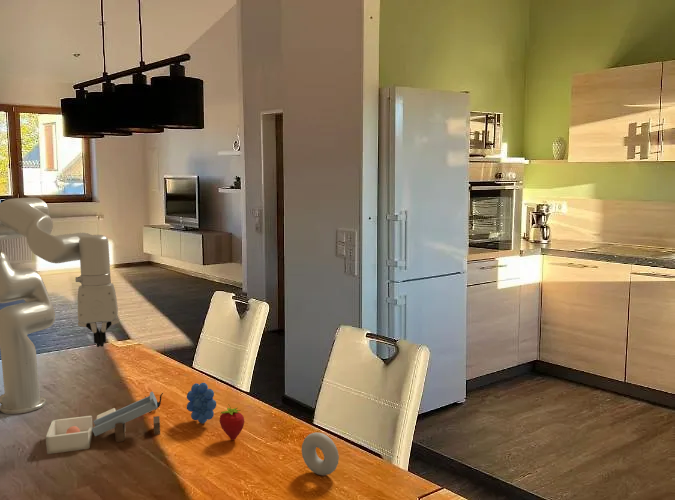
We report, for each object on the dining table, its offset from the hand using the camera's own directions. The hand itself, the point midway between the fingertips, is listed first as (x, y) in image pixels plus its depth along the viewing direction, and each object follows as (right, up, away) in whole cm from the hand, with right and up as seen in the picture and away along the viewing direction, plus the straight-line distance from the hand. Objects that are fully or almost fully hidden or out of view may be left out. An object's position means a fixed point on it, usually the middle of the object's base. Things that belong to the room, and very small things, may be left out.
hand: (100, 345), depth 180 cm
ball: (-4, -22, -8) cm, 24 cm away
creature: (+9, -22, +14) cm, 27 cm away
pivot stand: (+7, -24, -5) cm, 25 cm away
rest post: (+16, -23, -2) cm, 28 cm away
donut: (+62, -26, -29) cm, 73 cm away
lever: (+8, -19, -1) cm, 21 cm away
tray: (-5, -24, -8) cm, 26 cm away
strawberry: (+38, -24, -9) cm, 46 cm away
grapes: (+28, -22, +3) cm, 36 cm away
